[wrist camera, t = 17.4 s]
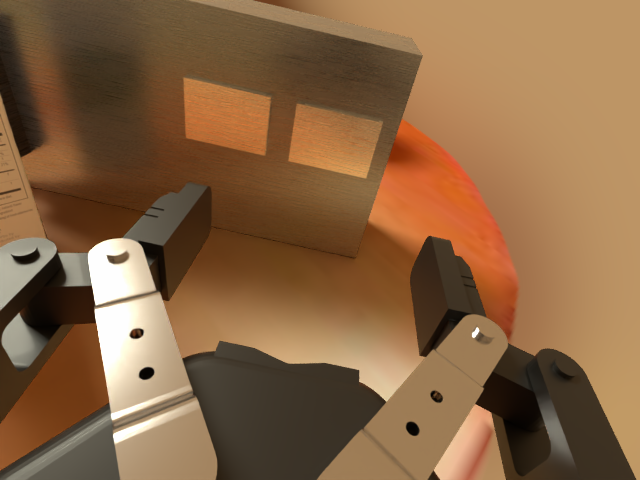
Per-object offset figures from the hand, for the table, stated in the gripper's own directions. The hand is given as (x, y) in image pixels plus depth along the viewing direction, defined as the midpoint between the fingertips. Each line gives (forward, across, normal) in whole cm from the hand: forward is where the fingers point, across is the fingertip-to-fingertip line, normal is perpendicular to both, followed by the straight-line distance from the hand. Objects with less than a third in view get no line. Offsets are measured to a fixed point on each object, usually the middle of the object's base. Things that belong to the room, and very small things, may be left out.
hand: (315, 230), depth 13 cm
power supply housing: (+13, +10, +9) cm, 19 cm away
